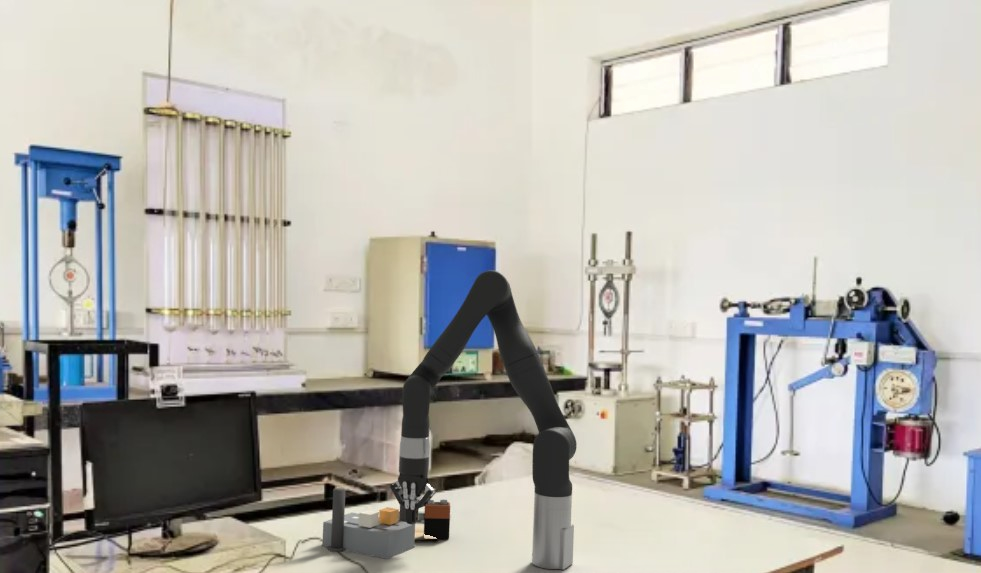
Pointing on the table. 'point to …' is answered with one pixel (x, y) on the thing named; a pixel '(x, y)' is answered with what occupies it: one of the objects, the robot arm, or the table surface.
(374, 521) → the white ridged block
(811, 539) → the table surface
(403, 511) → the post
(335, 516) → the post
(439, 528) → the battery
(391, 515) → the toggle orange
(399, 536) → the box
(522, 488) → the table surface
